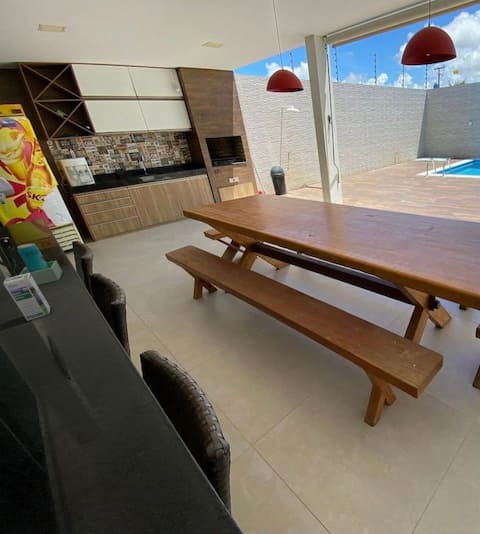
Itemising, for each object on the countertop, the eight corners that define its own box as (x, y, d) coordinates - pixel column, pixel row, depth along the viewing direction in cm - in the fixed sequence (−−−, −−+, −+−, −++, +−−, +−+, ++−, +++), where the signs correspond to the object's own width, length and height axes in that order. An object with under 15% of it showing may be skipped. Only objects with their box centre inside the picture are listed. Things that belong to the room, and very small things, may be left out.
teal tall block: (55, 276, 132) (37, 244, 125) (38, 282, 127) (18, 249, 121) (50, 273, 134) (32, 242, 128) (33, 279, 130) (13, 246, 124)
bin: (26, 288, 125) (18, 275, 122) (31, 279, 133) (24, 267, 130) (58, 280, 130) (52, 268, 127) (62, 272, 138) (56, 260, 135)
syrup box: (26, 321, 102) (2, 283, 95) (29, 314, 106) (5, 277, 100) (49, 314, 105) (27, 277, 99) (51, 307, 109) (29, 271, 103)
